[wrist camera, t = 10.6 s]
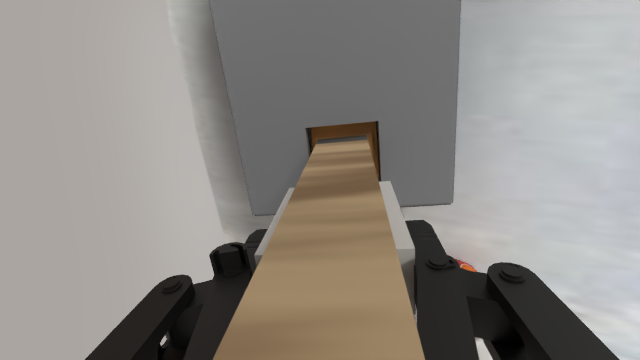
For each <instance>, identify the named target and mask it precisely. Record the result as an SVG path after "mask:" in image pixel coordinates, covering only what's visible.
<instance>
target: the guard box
mask: <svg viewBox="0 0 640 360" xmlns="http://www.w3.org/2000/svg"><path fill="white" fill-rule="evenodd" d="M209 3H210V8H211V13H212V18H213V23H214V28H215V33H216V38H217V43H218V48H219V52H220V57H221V62H222V67H223V72H224V77H225V82H226V87H227V92H228V97H229V102H230V107H231V111H232V116H233V121H234V126H235V131H236V136H237V141H238V146H239V151H240V156H241V161H242V165H243V170H244V175H245V180H246V185H247V190H248V195H249V200H250V205H251V210H252V215H254V214H255V216H264V215H276V213H277V211H278V209H279V207H280V205H281V203H282V201H283V199H284V197H285V196H286V194H287V192H288V190H289V188H295V187H296V185H297V183H298V180H299V178H300V176H301V174H302V172H303V170H304V168H305V166H306V164H307V162H308V160H309V157H310V147H309V139H308V131H307V128H309V127H320V126H330V125H341V124H351V123H362V122H372V121H378V141H379V162H380V168H379V177H378V181H379V182H381V181H390V182H391V184H392V187H393V190H394V193H395V195H396V198H397V201H398V204H399V206H400V207H416V206H433V205H450V204H451V203H453V194H454V168H455V142H456V116H457V90H458V64H459V38H460V12H461V0H209Z"/></svg>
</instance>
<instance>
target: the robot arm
mask: <svg viewBox="0 0 640 360" xmlns="http://www.w3.org/2000/svg"><path fill="white" fill-rule="evenodd" d="M379 185H380V189H381V192H382V196H383V200H384V204H385V208H386V212H387V215H388V219H389V223H390V227H391V231H392V235H393V238H394V242H395V246H396V250H397V254H398V258H399V261H400V265H401V269H402V273H403V277H404V281H405V284H406V288H407V292H408V296H409V300H410V304H411V307H412V311H413V314H415V304H416V308H417V330H418V334H419V338H420V342H421V346H422V350H423V353H424V357H425V360H479V355H478V351H477V346H476V341H475V337H477V338H481V339H483V342H484V344H485V346H486V348H487V349H488V351H489V353H490V355H491V357H492V359H493V360H619V359H618V358H617V357H616V356H615V355H614V354H613V353H612V352H611V351H610V350H609V349H608V348H607V347H606V346H605V345H604V343H603V342H602V341H601V340H600V339H599V338H598V337H597V336H596V335H595V334H594V333H593V332H592V331H591V330H590V329H589V328H588V327H587V326H586V325H585V324H584V323H583V322H582V321H581V320H580V319H579V318H578V317H577V316H576V315H575V314H574V313H573V312H572V311H571V310H570V309H569V308H568V307H567V306H566V305H565V304H564V303H563V302H562V301H561V300H560V299H559V298H558V297H557V296H556V295H555V294H554V293H553V292H552V291H551V290H550V289H549V288H548V287H547V286H546V285H545V284H544V282H543V281H542V280H541V279H540V278H539V277H538V276H537V275H536V274H534V273H533V272H532V271H530V270H529V269H527V268H525V267H523V266H520V265H517V264H513V263H503V262H501V263H495V264H493V265H491V266H489V268H488V271H487V274H486V273H480V272H474V271H469V270H466V269H463V268H460V265H459V263H458V262H457V261H456V260H455V259H454V258H452V257H450V256H448V255H447V254H446V252H445V250H444V249H443V247H442V245H441V243H440V241H439V239H438V238H437V235H436V233H435V232H434V230H433V228H432V226H431V225H430V224H429V223H427V222H426V221H424V220H413V221H405V220H404V217H403V214H402V212H401V209H400V206H399V204H398V201H397V198H396V195H395V193H394V190H393V187H392V184H391V182H390V181H381V182H379ZM294 189H295V188H289V190H288V192H287V194H286V196H285V197H284V199H283V201H282V203H281V205H280V207H279V209H278V211H277V213H276V215H275V217H274V218H273V220H272V222H271V224H270V226H269V228H268V229H260V230H256V231H255V232H253V233H252V234H251V235H250V236H249V237H248V239H247V240H246V243H245V244H243V243H239V242H234V243H228V244H224V245H222V246H219V247H217V248H216V249H215V250H213V251H212V252H211V253H210V260H211V263H212V267H213V271H214V277H213V279H212V280H209V281H206V282H202V283H197V284H193V283H192V279H191V278H190V277H189V276H188V275H176V276H172V277H169V278H167V279H165V280H164V281H162V282H160V283H159V284H158V285H156V286H155V287H154V288H153V289H152V290H151V291H150V292H149V293H148V294H147V296H146V297H145V298H144V299H143V300H142V301H141V302H140V303H139V304H138V305H137V306H136V307H135V308H134V309H133V310H132V311H131V312H130V313H129V314H128V315H127V316H126V317H125V318H124V319H123V320H122V322H121V323H120V324H119V325H118V326H117V327H116V328H115V329H114V330H113V331H112V332H111V333H110V334H109V335H108V336H107V337H106V338H105V339H104V340H103V341H102V342H101V343H100V344H99V346H98V347H97V348H96V349H95V350H94V351H93V352H92V353H91V354H90V355H89V356H88V357H87V358H86V359H85V360H213V358H214V356H215V354H216V351H217V349H218V347H219V345H220V343H221V341H222V339H223V337H224V335H225V333H226V331H227V329H228V326H229V324H230V322H231V320H232V318H233V316H234V314H235V312H236V310H237V308H238V306H239V303H240V301H241V299H242V297H243V295H244V293H245V291H246V289H247V287H248V285H249V283H250V281H251V278H252V276H253V274H254V272H255V270H256V268H257V266H258V264H259V262H260V260H261V258H262V256H263V253H264V251H265V249H266V247H267V245H268V243H269V241H270V239H271V237H272V235H273V233H274V230H275V228H276V226H277V224H278V222H279V220H280V218H281V216H282V214H283V212H284V210H285V208H286V205H287V203H288V201H289V199H290V197H291V195H292V193H293V191H294ZM165 335H166V338H167V340H166V342H165V343H164V344H163V345H162V346H161V345H160V342H161V340H162V338H163V337H164V336H165Z"/></svg>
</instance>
